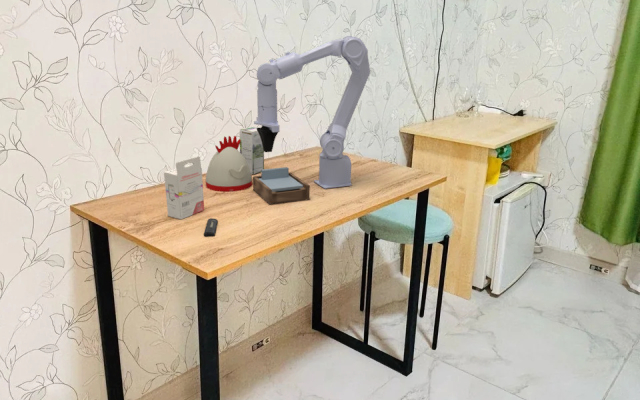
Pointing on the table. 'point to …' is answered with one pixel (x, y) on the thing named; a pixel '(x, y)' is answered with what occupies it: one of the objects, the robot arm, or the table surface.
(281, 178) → the lid
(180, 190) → the ink cartridge box
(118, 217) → the table surface
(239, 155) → the kitchen timer
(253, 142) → the syrup box
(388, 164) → the table surface
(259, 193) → the box
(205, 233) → the usb stick
